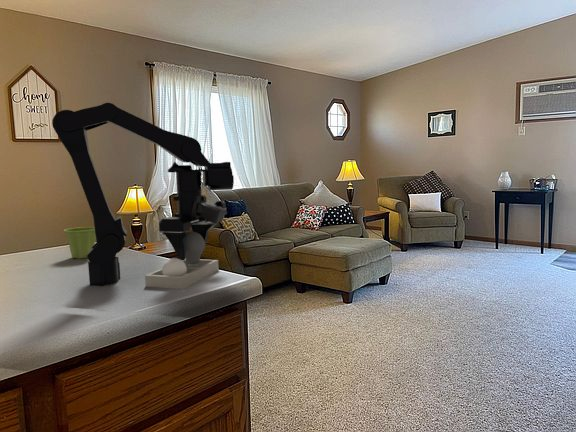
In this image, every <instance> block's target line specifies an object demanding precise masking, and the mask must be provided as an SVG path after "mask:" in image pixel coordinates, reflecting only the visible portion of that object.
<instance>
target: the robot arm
mask: <svg viewBox="0 0 576 432" xmlns="http://www.w3.org/2000/svg"><path fill="white" fill-rule="evenodd" d="M51 124H52V128H53V130H54V132H55V134H56V135H57V137H58V138H59V140H60V142H61V143H62V145H63V147H64V148H65V149H66V151H67V152H68V154H69V156H70V157H71V161H72V163H73V166H74V169H75V171H76V173H77V174H76V175H77V177H78V180H79V182H80V185H81V188H82V190H83V192H84V196H85V198H86V201H87V204H88V206H89V208H90V211H91V214H92V218H93V224H94V226H93V227H95V234H96V235H95V241H96V242H95V245H94V246H93V247H92V248H91V249H90V251H89V253H88V255H87V257H88V258H87V259H88V260H89V261H87V264H88V265H87V268H88V276H89V277H88V279H89V286H92V287H93V286H94V287H104V286H110V285H113V284H116V283H118V282H119V280H121V267H120V262H119V261H120V260H119V259H120V258H119V256H117V254H118V253H120V252H121V251H122V250H124V249H123V248H124V247H125V244H126V237H127V236H128V230H127V229H126V228H125V226H124V223H123V218H122V216H121V215H118V217H115V215H114V213H113V212H112V210H111V208H110V205H109V203H108V199H107V197H106V193H105V192H104V189H103V186H102V184H101V181H100V177H99V175H98V172H97V170H96V167H95V164H94V161H93V159H92V156H91V153H90V147H89V138H88V132H87V131H90V130H93V129H96V128H98V127H99V128H100V127H101V126H104V125H107V124H111V125H113V126H116V127H119V128H120V129H123V130H125V131H127V132H129V133H131V134H133V135H136V136H138V137H140V138H142V139H144V140H146V141H148V142H151V143H153V144H155V145H157V146H158V147H160V148H161V149H163V151H165V152H167V153H168V154H169V155H171V156H173V157H174V158H175V159H177V160H178V161H180V162H182V163H185V164H181V165H180V164H178V163H177V162H175V161H174V162H173V163H172V165H171V166H170V167H169V168H167V173H176V174H175V177H176V178H175V179H176V194H177V195H174V196H173V201H175V202H176V201H177V213H174V216H169V217H164V218H161V219H160V221H159V222H158V231H159V232H161V233H162V235H165V237H166V238H167V240H168V242H169V244H170V245H171V246H172V248H173V250H174V251H175V253H176V255H177V257H178V259H181V260H185V259H186V258H185V256H186V239H187V237H188V235H189V234H190V233H191V232H196V233H199V234H200V235H201V236H202V237H203V239H204V241H205V247H206V244H207V240H208V236H209V232H210V230H212V228H214V227H215V226H216V225H217V224H218V223H220V222H221V223H222V222H223V221H224V217H225V215H227V214H228V210H227V209H228V208H227V205H226V201H223V200H216V202H215V203H213V202H208V200H207V196H206V194H203V192H202V190H203V189H202V183H203V187H207V189H208V191H229V190H231V191H232V190H233V188H234V183H235V181H234V180H235V177H234V174H233V169H232V166H231V161H223V162H210V161H209V160H208V158H207V157H206V156H205V155H204V154H203V151H202V146H201V144H200V142H199V140H198V139H196V138H194V137H191V136H188V135H184V134H182V133H177V132H172V131H170V130H166V129H163V128H161V127H159V126H158V125H155V124H153V123H151V122H149V121H146V120H145V119H143V118H141V117H138V116H136V115H134V114H133V113H131V112H128V111H126V110H124V109H122V108H120V107H118V106H116V105H115V104H114V103H113V102H105V103H102V104H99V105H96V106H91V107H86V108H82V109H79V110H76V111H74V110H71V109H63V110H60V111H58V112H57V113H55V114H54V116H53V118H52V122H51ZM186 163H187V164H188V163H190V164H192V165H194V166H195V167H204V169H202V168H201V169H193V168H192V165H190V164H188V165H187V164H186ZM205 247H204V250H203V252H202V253H204V252H205Z"/></svg>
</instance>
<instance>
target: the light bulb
mask: <svg viewBox="0 0 576 432" xmlns="http://www.w3.org/2000/svg"><path fill="white" fill-rule="evenodd" d="M204 247H206V245H205V241H204V239H203V237H202V236H201V235H200V234H199V233H196V232H193V231H192V232H191V233H190V234H189V235H188V237H187V239H186V256H185V259H186V262H187V264H188V267H197V268H198V267H199V266H198V265H199V261H200V259H201V256H202V253H204V252H203V250H204V251H205V249H204Z"/></svg>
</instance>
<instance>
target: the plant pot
mask: <svg viewBox="0 0 576 432" xmlns="http://www.w3.org/2000/svg"><path fill="white" fill-rule="evenodd" d="M63 232H64V233H65V236H66V238H67V242H68V246H69V249H70V254H71V255H70V256H71V258H72V259H79V260H81V259H88V257H87V255H88V253H89V251H90V249H91V248H92V247H93V246H94V245H95V244H96V234H95V227H94V226H82V227H79V226H78V227H72V228H65V229H63Z"/></svg>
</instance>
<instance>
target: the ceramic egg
mask: <svg viewBox="0 0 576 432" xmlns="http://www.w3.org/2000/svg"><path fill="white" fill-rule="evenodd" d="M161 269H162V274H163V275H164V276H183V275H185V274H186V273H187V267H186V264H185V263H184V262H183V261H182V260H181V259H179V257H178V258H177V257H172V258H169V259H167V260H166V261H165V262H164V263H163V266H162V268H161Z"/></svg>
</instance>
